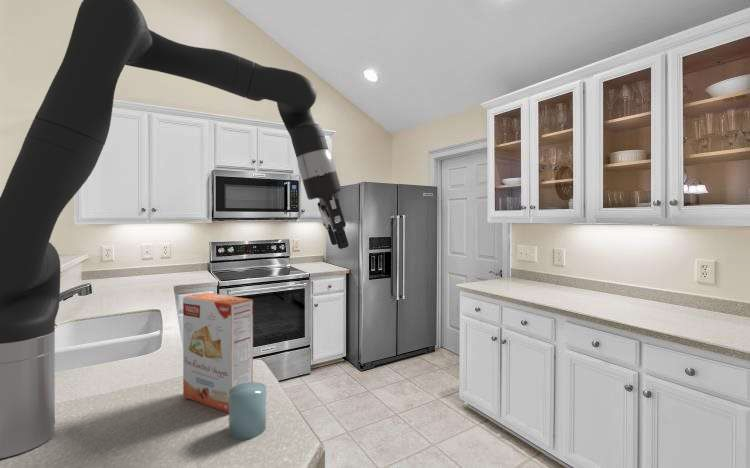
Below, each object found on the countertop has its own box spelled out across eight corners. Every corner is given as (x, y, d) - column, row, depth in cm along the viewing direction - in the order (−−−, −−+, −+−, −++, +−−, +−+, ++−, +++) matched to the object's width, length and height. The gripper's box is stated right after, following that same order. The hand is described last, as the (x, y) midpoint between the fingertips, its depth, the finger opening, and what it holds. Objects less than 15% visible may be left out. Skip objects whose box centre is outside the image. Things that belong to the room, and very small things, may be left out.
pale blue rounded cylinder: (247, 443, 59) (247, 400, 59) (221, 433, 62) (221, 392, 62) (273, 425, 64) (273, 386, 64) (247, 417, 67) (248, 379, 67)
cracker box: (180, 398, 74) (181, 295, 74) (206, 387, 79) (207, 291, 79) (229, 415, 68) (229, 303, 67) (253, 402, 73) (254, 297, 73)
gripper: (299, 181, 84) (319, 248, 87) (305, 175, 71) (329, 255, 73) (330, 173, 86) (349, 238, 89) (341, 166, 73) (363, 243, 75)
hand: (340, 245), depth 81 cm, fingers open, 8 cm apart
